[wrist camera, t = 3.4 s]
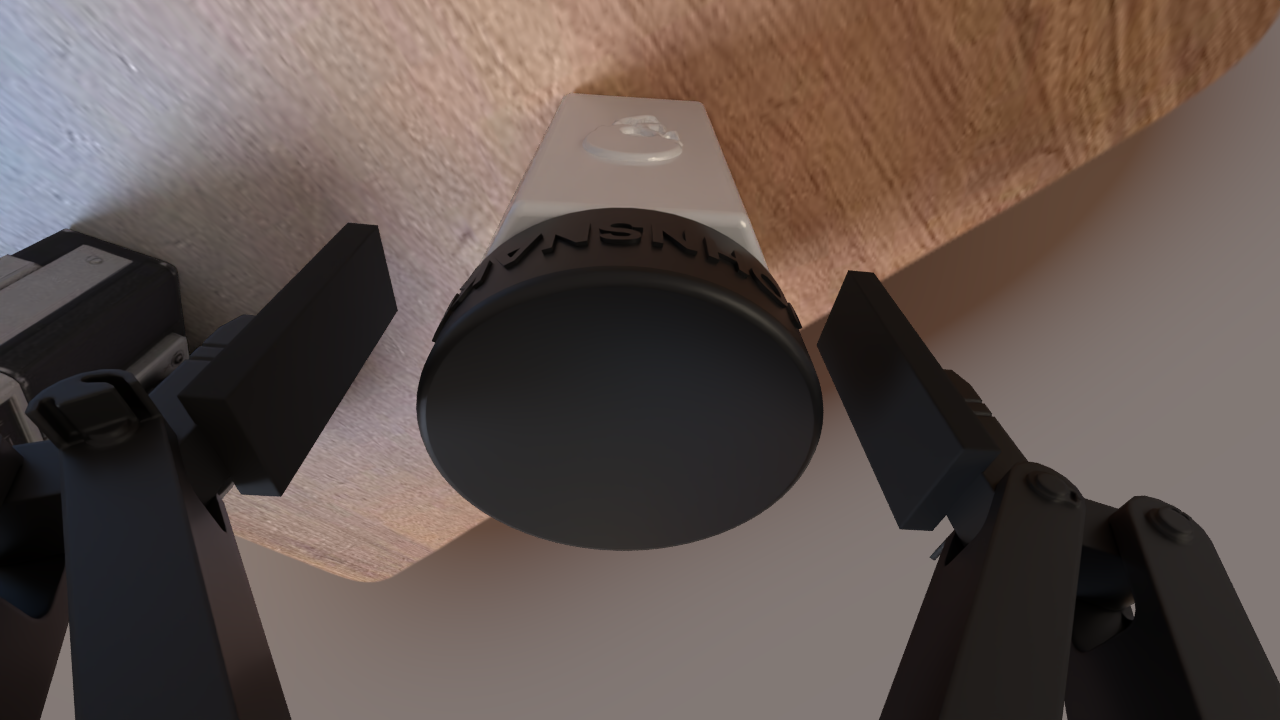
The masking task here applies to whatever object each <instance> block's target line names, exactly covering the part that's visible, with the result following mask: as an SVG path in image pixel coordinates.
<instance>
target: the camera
mask: <svg viewBox="0 0 1280 720" xmlns="http://www.w3.org/2000/svg"><path fill="white" fill-rule="evenodd" d="M185 359H187V360H189V352H188V345H187V338H186V337H185V331H184V323H183V314H182V306H181V298H180V290H179V282H178V274H177V270H176V268H175V267H174V266H172V265H170V264H168V263H166V262H163V261H160V260H157V259H154V258H152V257H149V256H146V255H143V254H140V253H137V252H134V251H131V250H128V249H125V248H122V247H120V246H117V245H114V244H111V243H108V242H105V241H102V240H99V239H96V238H93V237H90V236H87V235H84V234H81V233H78V232H75V231H72V230H69V229H63V230H61V231H59V232H57V233H55V234H53V235H51V236H49V237H47V238H45V239H43V240H41V241H39V242H37V243H35V244H33V245H31V246H29V247H27V248H25V249H23V250H21V251H19V252H17V253H15V254H13V255H8V254H7V255H5V256H3V257H1V258H0V435H1V436H2V437H3V438H4V439H5V440H6V441H7V442H8V443H9V444H10V445H11V446H12V445H19V444H26V443H32V442H39V441H45V440H49V439H48V438H47V437H46V435H45V434H44V433H43V432H42V431H41V430H40V429H39V428H38V427H37V426H36V425H35V424H34V423H33V422H32V421H31V420H30V419H29V418H28V417H27V416H26V414H25V411H26V408H27V406H28V403H29V402H30V401H31V400H32V399H33V398H34V397H35V396H36V395H38V394H39V393H40V392H41V391H42V390H44V389H46V388H48V387H49V386H51V385H53V384H55V383H57V382H58V381H60V380H63V379H66V378H69V377H71V376H74V375H77V374H80V373H84V372H89V371H95V370H100V369H121V370H124V371H127V372H130V373H133V375H134V376H135V377H136V379H137V380H138V381H139V383H140V384H141V385H142V387H143V388H144V390H145V391H146V393H147V394H148V395H149V394H150V393H151V392H152V391H153V390H154V389H155V388H156V387H157V386H158V385H159V384H160V383H161V382H162V381H163V380H164V379H165V378H166V377H168V376H169V375H170V374H171V373H172V372H173V371H174V370H175V369H176V368H177V367H178V366H179V365H180V364H181V363H182V362H183V361H184V360H185ZM233 485H234V483H233V481H232V480H231V478H230V477H229V478H228V479H227V480H226V482H225V483H224V484H223V486H222V487H221V488H220V490H219V491H218V492H217V493H218V495H219V496H220V498H221V499H222V498H223V497H224V496H225V495H226V494H227V493H228V492H229V490H230V489H231V488H232V487H233Z"/></svg>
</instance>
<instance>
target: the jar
mask: <svg viewBox="0 0 1280 720" xmlns="http://www.w3.org/2000/svg"><path fill="white" fill-rule="evenodd" d="M460 290H461V293H460V295H459V294H458V293H457V294H456V295H455V297H454V298H453V300H452V302H451V303H450V305H449V307H448V309H447V311H446V313H445V315H444V317H443V319H442V321H441V323H440V324H439V326H438V328H437V330H436V332H435V335H434V337H433V339H432V341H433V342H435V344H434V346H433V348H432V350H431V352H430V354H429V356H428V358H427V361H426V363H425V365H424V368H423V370H422V373H421V377H420V381H419V385H418V391H417V404H416V411H417V421H418V426H419V430H420V434H421V437H422V440H423V442H424V445H425V447H426V450H427V452H428V454H429V456H430V458H431V459H432V461H433V463H434V465H435V466H436V468H437V469H438V470H439V472H440V473H441V475H442V476H443V477H444V478H445V480H446V481H447V482H448V483H449V484H450V485H451V486H452V487H453V488H454V489H455V490H456V491H457V492H458V493H459V494H460V495H461V496H462V497H463V498H465V499H466V500H467V501H468V502H470V503H471V504H472V505H474V506H475V507H477V508H478V509H479V510H481V511H482V512H484V513H485V514H487V515H489V516H491V517H492V518H494V519H496V520H498V521H500V522H502V523H504V524H506V525H508V526H510V527H512V528H515V529H517V530H520V531H522V532H524V533H527V534H529V535H532V536H535V537H538V538H542V539H545V540H549V541H552V542H556V543H560V544H565V545H570V546H576V547H582V548H590V549H599V550H616V551H622V550H623V551H632V550H649V549H659V548H666V547H672V546H678V545H683V544H687V543H691V542H695V541H699V540H703V539H706V538H709V537H712V536H715V535H718V534H720V533H723V532H725V531H728V530H730V529H733V528H735V527H737V526H739V525H741V524H743V523H745V522H747V521H749V520H750V519H752V518H754V517H755V516H757V515H759V514H760V513H762V512H763V511H764V510H766V509H768V508H769V507H771V506H772V505H773V504H774V503H775V502H776V501H778V500H779V499H780V498H782V497H783V496H784V495H785V493H787V492H788V491H789V490H790V489H791V488H792V486H793V485H794V484H795V483H796V482H797V481H798V479H799V478H800V477H801V475H802V474H803V472H804V471H805V469H806V468H807V466H808V464H809V462H810V460H811V458H812V456H813V454H814V452H815V450H816V447H817V445H818V442H819V439H820V435H821V430H822V424H823V400H822V392H821V387H820V383H819V379H818V377H817V374H816V371H815V369H814V366H813V363H812V361H811V359H810V356H809V354H808V351H807V349H806V347H805V344H804V342H803V339H802V337H801V334H800V332H799V329H801V328H802V326H801V324H800V321H799V319H798V317H797V315H796V312H795V311H794V309H793V307H792V305H791V304H790V303H787V301H786V298H785V296H784V294H783V292H782V291H781V289H780V287H779V285H778V284H777V282H776V281H775V280H774V278H773V277H772V275H771V274H770V272H769V269H768V266H767V264H766V261H765V259H764V256H763V253H762V251H761V248H760V246H759V243H758V240H757V238H756V235H755V232H754V230H753V227H752V225H751V222H750V219H749V217H748V214H747V212H746V209H745V207H744V204H743V202H742V199H741V197H740V194H739V192H738V189H737V187H736V184H735V182H734V179H733V177H732V174H731V172H730V169H729V167H728V164H727V162H726V159H725V157H724V154H723V152H722V149H721V147H720V144H719V142H718V139H717V137H716V134H715V132H714V129H713V126H712V124H711V121H710V119H709V116H708V114H707V111H706V109H705V107H704V105H703V104H702V103H701V102H698V101H686V100H669V99H654V98H639V97H623V96H608V95H594V94H579V93H569V94H566V95H565V96H564V97H563V99H562V101H561V103H560V105H559V107H558V109H557V111H556V113H555V115H554V117H553V119H552V121H551V123H550V125H549V126H548V128H547V130H546V132H545V134H544V136H543V138H542V140H541V142H540V144H539V146H538V148H537V150H536V152H535V154H534V156H533V158H532V160H531V162H530V164H529V166H528V167H527V169H526V171H525V173H524V175H523V177H522V179H521V181H520V183H519V185H518V187H517V189H516V191H515V193H514V195H513V197H512V199H511V201H510V203H509V205H508V207H507V209H506V211H505V213H504V215H503V217H502V219H501V221H500V223H499V225H498V227H497V229H496V231H495V233H494V235H493V237H492V239H491V241H490V243H489V245H488V248H487V250H486V252H485V254H484V256H483V258H482V260H481V262H480V264H479V266H478V267H477V268H476V269H475V271H474V272H473V273H472V275H471V276H470V277H469V279H468V280H467V281H466V282H465V283H464V285H463V286H462V287H461V288H460Z"/></svg>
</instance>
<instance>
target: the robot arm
mask: <svg viewBox="0 0 1280 720" xmlns="http://www.w3.org/2000/svg"><path fill="white" fill-rule="evenodd" d="M397 311H398V310H397V306H396V301H395V297H394V293H393V289H392V284H391V280H390V276H389V271H388V267H387V263H386V259H385V254H384V250H383V246H382V242H381V237H380V233H379V229H378V225H367V224H357V223H347V224H346V225H345V226H344V227H343V228H342V229H341V230H340V231H339V232H338V233H337V234H336V235H335V236H334V237H333V238H332V239H331V240H330V241H329V242H328V243H327V244H326V245H325V246H324V247H323V248H322V249H321V250H320V251H319V252H318V253H317V254H316V255H315V257H314V258H313V259H312V260H311V261H310V262H309V263H308V264H307V265H306V266H305V267H304V268H303V269H302V270H301V271H300V272H299V273H298V274H297V275H296V276H295V277H294V278H293V279H292V280H291V281H290V282H289V283H288V284H287V285H286V286H285V287H284V288H283V289H282V290H281V291H280V292H279V293H278V294H277V295H276V296H275V297H274V298H273V299H272V300H271V301H270V302H269V303H268V304H267V305H266V306H265V307H264V308H263V309H262V310H261V311H260V312H259V313H258V314H257V315H256V316H254V315H242V316H240V317H238V318H236V319H234V320H232V321H230V322H229V323H227V324H225V325H223V326H221V327H219V328H218V329H217V330H216V331H215V332H214V333H213V334H212V335H211V336H210V337H209V338H208V339H207V340H205V341H204V342H203V346H199V347H198V348H197V349H196V350H195V351H194V352H193V353H192V354H191V355H190V356H189V360H187V359H185V360H184V361H183V362H182V363H181V364H180V365H179V366H178V367H177V368H176V369H175V370H174V371H173V372H172V373H171V374H170V375H169V376H168V377H166V378H165V379H164V380H163V381H162V382H161V383H160V384H159V385H158V386H157V387H156V388H155V389H154V390H153V391H152V392H151V393H150V394H149V395H148V394H147V393H146V391H145V390H144V388H143V387H142V385H141V384H140V383H139V381H138V380H137V379H136V377H135V376H134V375H133V373H130V372H127V371H124V370H121V369H100V370H95V371H89V372H84V373H80V374H77V375H74V376H71V377H69V378H66V379H63V380H60V381H58V382H57V383H55V384H53V385H51V386H49V387H48V388H46V389H44V390H42V391H41V392H40V393H39V394H38V395H36V396H35V397H34V398H33V399H32V400H31V401H30V402H29V403H28V406H27V408H26V411H25V414H26V416H27V417H28V418H29V419H30V420H31V421H32V422H33V423H34V424H35V425H36V426H37V427H38V428H39V429H40V430H41V431H42V432H43V433H44V434H45V435H46V437H47V438H48V439H49V440H45V441H39V442H32V443H26V444H19V445H12V446H11V445H10V444H9V443H8V442H7V441H6V440H5V439H4V438H3V437H2V436H1V435H0V720H40V718H41V714H42V711H43V708H44V704H45V701H46V698H47V694H48V691H49V687H50V684H51V681H52V677H53V674H54V670H55V667H56V664H57V660H58V657H59V653H60V650H61V647H62V643H63V640H64V636H65V633H66V629H67V626H68V623H69V626H70V642H71V659H72V674H73V690H74V706H75V720H291V717H290V713H289V710H288V707H287V704H286V701H285V697H284V694H283V691H282V688H281V684H280V681H279V678H278V675H277V672H276V669H275V665H274V662H273V659H272V655H271V652H270V649H269V646H268V643H267V640H266V636H265V633H264V630H263V627H262V623H261V620H260V617H259V614H258V611H257V607H256V604H255V601H254V598H253V594H252V591H251V588H250V585H249V581H248V578H247V575H246V572H245V569H244V566H243V562H242V559H241V556H240V553H239V550H238V546H237V543H236V540H235V536H234V533H233V530H232V527H231V524H230V520H229V517H228V514H227V511H226V508H225V504H224V502H223V500H222V499H221V498H220V496H219V495H218V493H217V492H218V491H219V490H220V488H221V487H222V486H223V484H224V483H225V482H226V480H227V479H228V478H229V477H230V478H231V480H232V481H233V483H234V484H235V486H236V487H237V489H238V490H239V492H240V493H241V494H242V495H261V496H280V497H281V496H282V495H283V493H284V491H285V490H286V488H287V487H288V485H289V483H290V482H291V480H292V479H293V477H294V475H295V474H296V472H297V471H298V469H299V467H300V466H301V464H302V463H303V461H304V459H305V458H306V456H307V455H308V453H309V451H310V450H311V448H312V447H313V445H314V443H315V442H316V440H317V439H318V437H319V435H320V434H321V432H322V431H323V429H324V427H325V426H326V424H327V423H328V421H329V419H330V418H331V416H332V415H333V413H334V411H335V410H336V408H337V407H338V405H339V403H340V402H341V400H342V399H343V397H344V395H345V394H346V392H347V391H348V389H349V387H350V386H351V384H352V383H353V381H354V379H355V378H356V376H357V375H358V373H359V371H360V370H361V368H362V367H363V365H364V363H365V362H366V360H367V359H368V357H369V355H370V354H371V352H372V351H373V349H374V347H375V346H376V344H377V343H378V341H379V339H380V338H381V336H382V335H383V333H384V331H385V330H386V328H387V327H388V325H389V323H390V322H391V320H392V319H393V317H394V315H395V314H396V312H397ZM817 347H818V349H819V351H820V354H821V356H822V358H823V360H824V363H825V365H826V367H827V369H828V371H829V374H830V376H831V378H832V380H833V382H834V384H835V387H836V389H837V391H838V393H839V396H840V398H841V400H842V402H843V405H844V407H845V409H846V411H847V413H848V416H849V418H850V420H851V422H852V425H853V427H854V429H855V431H856V433H857V436H858V438H859V440H860V442H861V444H862V447H863V449H864V451H865V453H866V456H867V458H868V460H869V462H870V464H871V467H872V469H873V471H874V473H875V475H876V477H877V480H878V482H879V484H880V487H881V489H882V491H883V493H884V495H885V498H886V500H887V502H888V504H889V507H890V509H891V511H892V513H893V515H894V518H895V520H896V522H897V524H898V526H899V529H906V530H924V531H933V530H934V528H935V527H936V526H937V525H938V524H939V523H940V521H941V520H942V519H943V518H944V517H945V516H946V515H947V517H948V519H949V521H950V522H951V524H952V526H953V528H954V531H953V532H952V533H951V534H950V535H949V536H948V537H947V538H946V540H945V541H944V542H943V543H942V544H941V545H940V546H939V547H938V548H937V549H936V550H935V552H934V553H933V554H932V555H931V556H930V558H931V559H933V560H936V558H937V557H938V556H939V555H940V557H939V560H938V563H937V565H936V568H935V571H934V573H933V576H932V579H931V582H930V584H929V587H928V590H927V593H926V595H925V598H924V600H923V603H922V606H921V608H920V611H919V614H918V616H917V619H916V622H915V624H914V627H913V630H912V633H911V635H910V638H909V641H908V643H907V646H906V649H905V651H904V654H903V657H902V659H901V662H900V665H899V667H898V671H897V673H896V675H895V678H894V681H893V684H892V686H891V689H890V692H889V694H888V697H887V700H886V703H885V705H884V708H883V710H882V713H881V716H880V718H879V720H1062V716H1063V707H1064V701H1065V707H1066V713H1067V719H1068V720H1280V683H1279V681H1278V679H1277V677H1276V675H1275V673H1274V671H1273V669H1272V667H1271V664H1270V662H1269V660H1268V658H1267V656H1266V654H1265V652H1264V650H1263V648H1262V646H1261V644H1260V641H1259V639H1258V637H1257V635H1256V633H1255V631H1254V629H1253V627H1252V625H1251V623H1250V621H1249V619H1248V617H1247V614H1246V612H1245V610H1244V608H1243V606H1242V604H1241V602H1240V600H1239V598H1238V596H1237V593H1236V591H1235V589H1234V588H1233V585H1232V583H1231V581H1230V579H1229V577H1228V575H1227V573H1226V570H1225V568H1224V566H1223V564H1222V562H1221V560H1220V558H1219V556H1218V554H1217V552H1216V549H1215V547H1214V545H1213V543H1212V541H1211V540H1210V538H1209V537H1208V535H1207V534H1206V533H1205V531H1204V530H1203V529H1202V528H1201V527H1200V526H1199V525H1198V524H1197V523H1196V522H1195V521H1194V520H1192V518H1191V517H1190V516H1188V515H1187V514H1186V513H1184V512H1182V511H1181V510H1180V509H1178V508H1176V507H1174V506H1172V505H1170V504H1168V503H1165V502H1163V501H1161V500H1159V499H1155V498H1152V497H1148V496H1134V497H1133V498H1131V499H1130V500H1129V501H1128V502H1126V503H1125V504H1124V505H1123V506H1121V507H1120V508H1119V509H1117V508H1114V507H1111V506H1107V505H1104V504H1101V503H1098V502H1095V501H1092V500H1088V499H1085V498H1084V497H1083V496H1082V494H1081V493H1080V492H1079V490H1078V489H1077V487H1076V486H1075V485H1073V484H1072V483H1071V482H1070V481H1069V480H1068V479H1067V478H1066V477H1064V476H1063V475H1061V474H1059V473H1058V472H1056V471H1054V470H1053V469H1051V468H1049V467H1046V466H1044V465H1041V464H1039V463H1034V462H1028V461H1027V459H1026V458H1025V457H1024V455H1023V454H1022V453H1021V451H1020V450H1019V449H1018V447H1017V446H1016V445H1015V443H1014V442H1013V441H1012V439H1011V438H1010V437H1009V435H1008V434H1007V433H1006V432H1005V430H1004V429H1003V427H1002V426H1001V425H1000V423H999V422H998V421H997V419H996V418H995V417H992V413H991V412H990V410H989V409H988V408H987V407H986V405H985V404H983V403H982V400H981V398H980V397H979V396H978V394H977V393H976V392H975V390H974V389H973V388H972V386H971V385H970V384H969V383H968V382H966V381H965V380H964V379H962V378H961V377H960V376H959V375H958V374H956V373H955V372H954V371H953V370H946V369H942V367H941V366H940V364H939V363H938V362H937V360H936V359H935V357H934V356H933V355H932V353H931V352H930V351H929V349H928V348H927V346H926V345H925V343H924V342H923V341H922V339H921V338H920V337H919V335H918V334H917V332H916V331H915V330H914V328H913V327H912V325H911V324H910V323H909V321H908V320H907V318H906V317H905V316H904V314H903V313H902V312H901V310H900V309H899V307H898V306H897V304H896V303H895V302H894V300H893V299H892V298H891V296H890V295H889V293H888V292H887V291H886V289H885V288H884V286H883V285H882V284H881V282H880V281H879V279H878V278H877V277H876V275H875V274H874V273H871V272H861V271H850V270H848V272H847V275H846V277H845V279H844V282H843V284H842V286H841V289H840V291H839V293H838V296H837V298H836V301H835V303H834V305H833V308H832V310H831V312H830V315H829V317H828V319H827V322H826V324H825V326H824V329H823V331H822V334H821V336H820V338H819V341H818V343H817ZM1134 603H1135V609H1136V610H1135V616H1133V612H1132V609H1131V606H1130V605H1132V604H1134Z"/></svg>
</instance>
